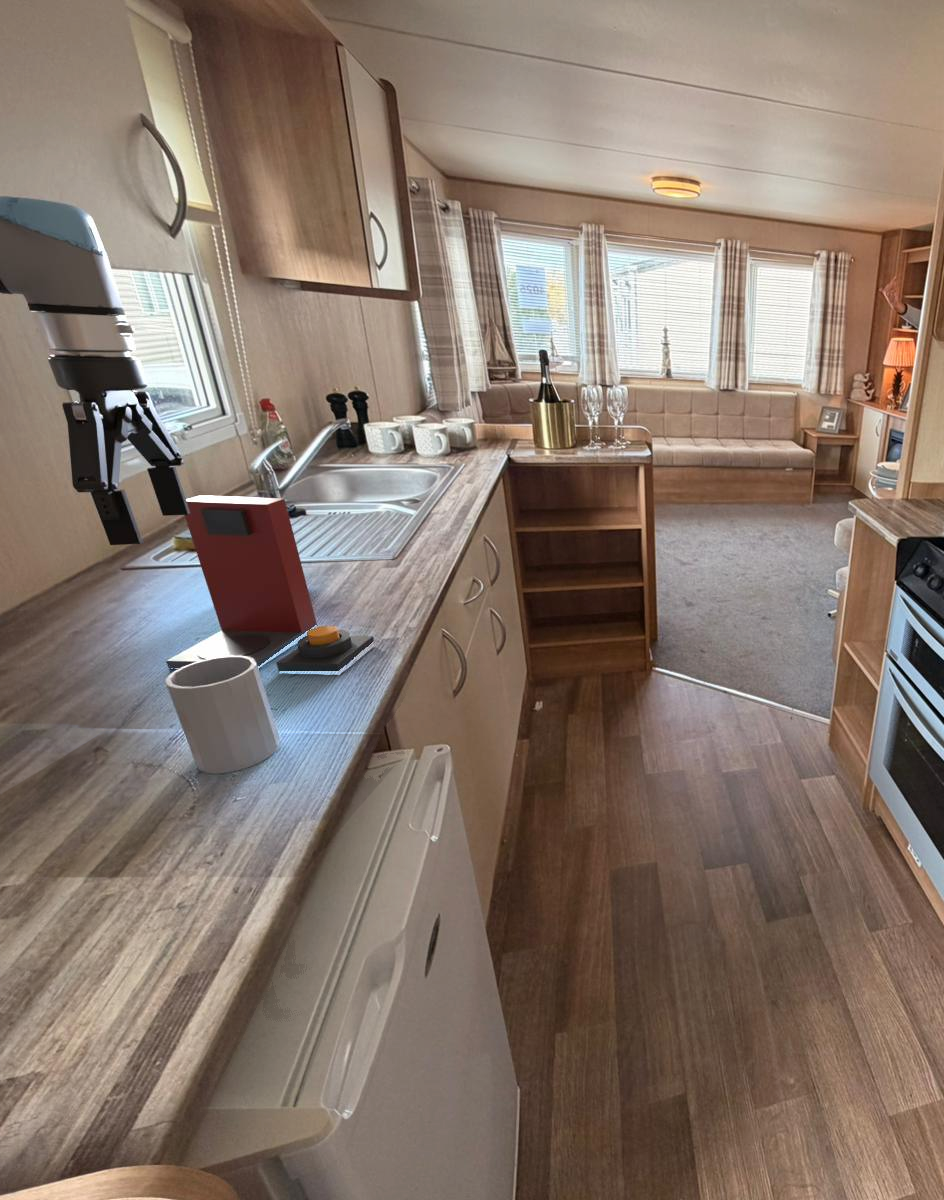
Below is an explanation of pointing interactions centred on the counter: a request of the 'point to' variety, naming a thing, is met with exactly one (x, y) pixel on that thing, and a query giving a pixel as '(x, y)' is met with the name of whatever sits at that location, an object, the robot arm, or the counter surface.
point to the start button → (323, 635)
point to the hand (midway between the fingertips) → (153, 528)
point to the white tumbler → (224, 713)
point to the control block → (324, 654)
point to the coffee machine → (248, 577)
